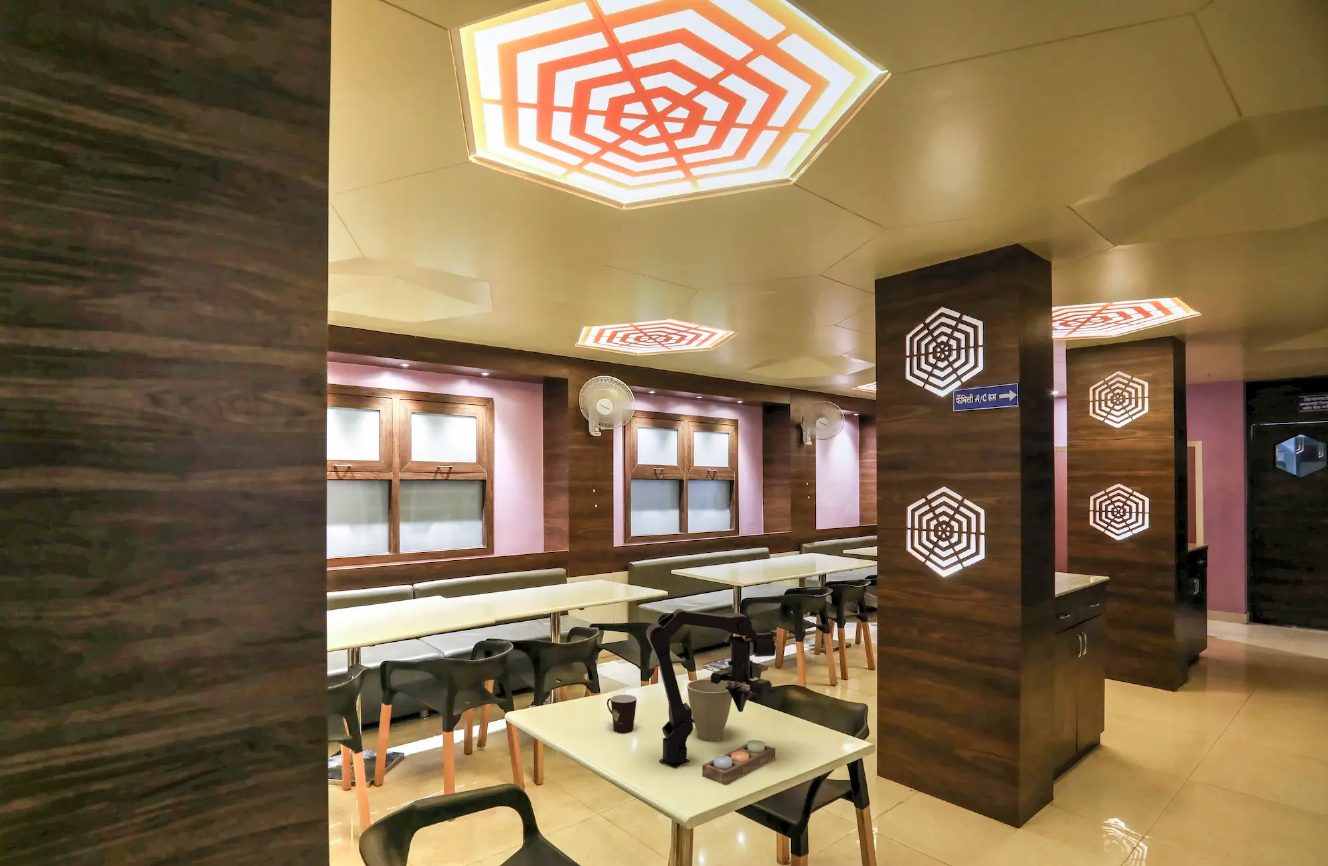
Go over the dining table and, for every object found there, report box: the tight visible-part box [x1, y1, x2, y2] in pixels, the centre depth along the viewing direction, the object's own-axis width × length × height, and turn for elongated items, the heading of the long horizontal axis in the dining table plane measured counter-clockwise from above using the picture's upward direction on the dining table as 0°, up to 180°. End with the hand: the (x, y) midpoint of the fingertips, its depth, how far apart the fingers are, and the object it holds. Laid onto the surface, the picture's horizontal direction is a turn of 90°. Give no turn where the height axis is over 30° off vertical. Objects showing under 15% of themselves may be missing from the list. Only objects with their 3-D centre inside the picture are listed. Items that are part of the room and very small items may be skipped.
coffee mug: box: [606, 694, 638, 735], centre depth 216 cm, size 12×9×10 cm
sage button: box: [746, 739, 765, 754], centre depth 191 cm, size 5×5×3 cm
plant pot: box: [686, 678, 733, 741], centre depth 209 cm, size 15×15×16 cm
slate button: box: [713, 754, 732, 771], centre depth 179 cm, size 5×5×3 cm
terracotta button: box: [731, 751, 749, 762], centre depth 185 cm, size 5×5×3 cm
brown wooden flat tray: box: [701, 743, 776, 786], centre depth 185 cm, size 8×24×3 cm, turn 138°
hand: (740, 711), depth 193 cm, fingers closed
